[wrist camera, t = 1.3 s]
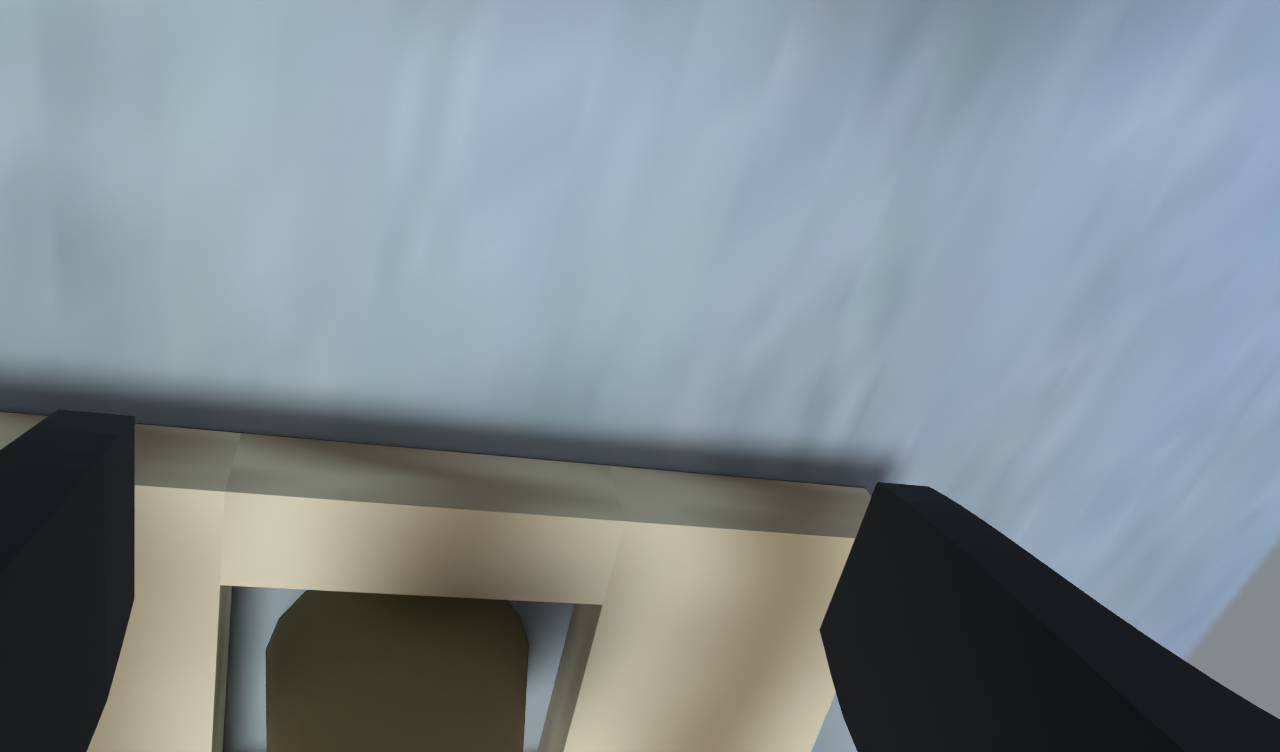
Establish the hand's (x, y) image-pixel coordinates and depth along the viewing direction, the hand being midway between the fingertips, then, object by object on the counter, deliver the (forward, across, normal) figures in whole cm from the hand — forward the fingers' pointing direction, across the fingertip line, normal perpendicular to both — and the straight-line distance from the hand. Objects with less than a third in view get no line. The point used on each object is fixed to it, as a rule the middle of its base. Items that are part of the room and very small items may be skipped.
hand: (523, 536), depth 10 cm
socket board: (+10, 0, +12) cm, 16 cm away
